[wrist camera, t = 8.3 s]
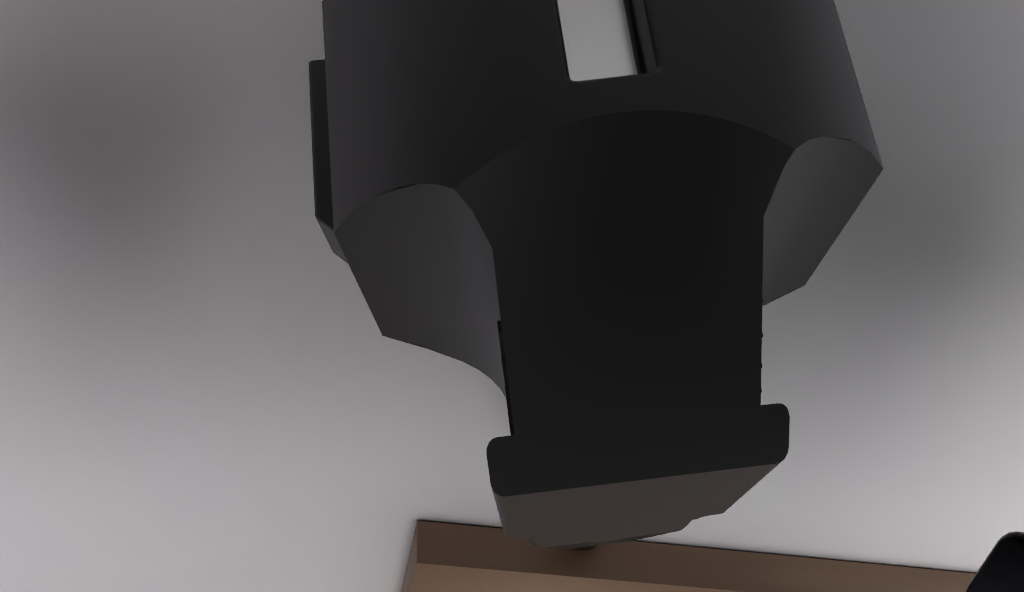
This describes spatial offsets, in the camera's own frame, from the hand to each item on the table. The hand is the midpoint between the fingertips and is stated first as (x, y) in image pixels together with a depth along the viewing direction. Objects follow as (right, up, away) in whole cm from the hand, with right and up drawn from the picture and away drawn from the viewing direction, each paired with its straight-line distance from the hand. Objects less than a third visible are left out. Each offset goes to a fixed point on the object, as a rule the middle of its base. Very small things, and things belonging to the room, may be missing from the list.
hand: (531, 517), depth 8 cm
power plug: (+1, +3, +7) cm, 7 cm away
